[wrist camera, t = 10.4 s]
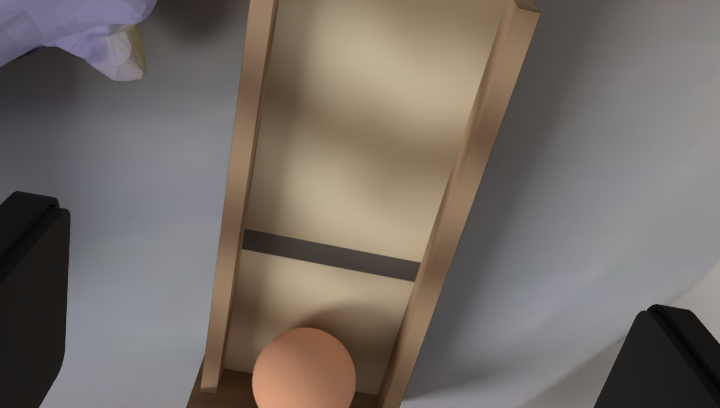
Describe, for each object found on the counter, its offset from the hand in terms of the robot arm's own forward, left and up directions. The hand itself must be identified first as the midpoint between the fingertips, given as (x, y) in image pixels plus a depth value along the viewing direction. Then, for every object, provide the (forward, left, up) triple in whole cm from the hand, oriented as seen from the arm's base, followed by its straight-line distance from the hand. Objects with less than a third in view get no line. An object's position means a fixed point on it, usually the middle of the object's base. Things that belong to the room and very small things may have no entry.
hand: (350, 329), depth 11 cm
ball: (+15, +1, -17) cm, 23 cm away
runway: (+6, +1, -21) cm, 22 cm away
